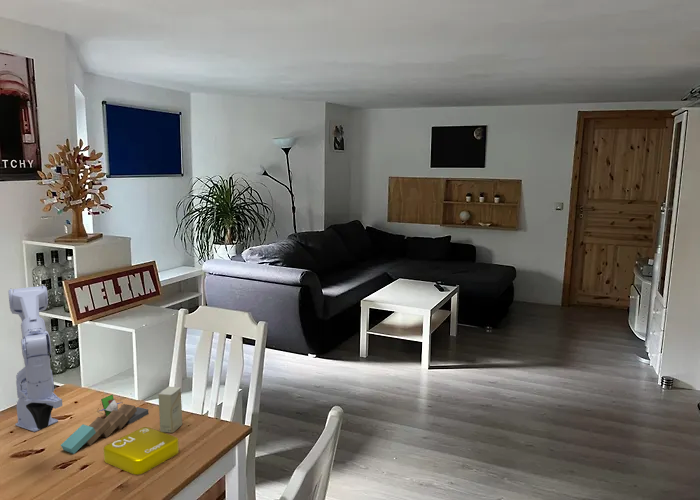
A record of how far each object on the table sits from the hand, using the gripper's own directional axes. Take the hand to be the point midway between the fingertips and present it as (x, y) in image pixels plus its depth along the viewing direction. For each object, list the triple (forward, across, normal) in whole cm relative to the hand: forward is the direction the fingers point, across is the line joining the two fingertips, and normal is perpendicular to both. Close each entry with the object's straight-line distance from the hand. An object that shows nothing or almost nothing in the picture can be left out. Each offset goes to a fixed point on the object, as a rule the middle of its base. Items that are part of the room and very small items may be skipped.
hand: (42, 427), depth 150 cm
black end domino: (+10, 0, +27) cm, 29 cm away
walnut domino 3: (+9, 0, +22) cm, 24 cm away
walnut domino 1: (+10, 0, +12) cm, 15 cm away
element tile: (+11, +20, +15) cm, 27 cm away
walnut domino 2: (+9, 0, +17) cm, 20 cm away
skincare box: (+11, +15, +31) cm, 36 cm away
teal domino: (+10, 0, +7) cm, 12 cm away
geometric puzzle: (+11, -8, +28) cm, 31 cm away
